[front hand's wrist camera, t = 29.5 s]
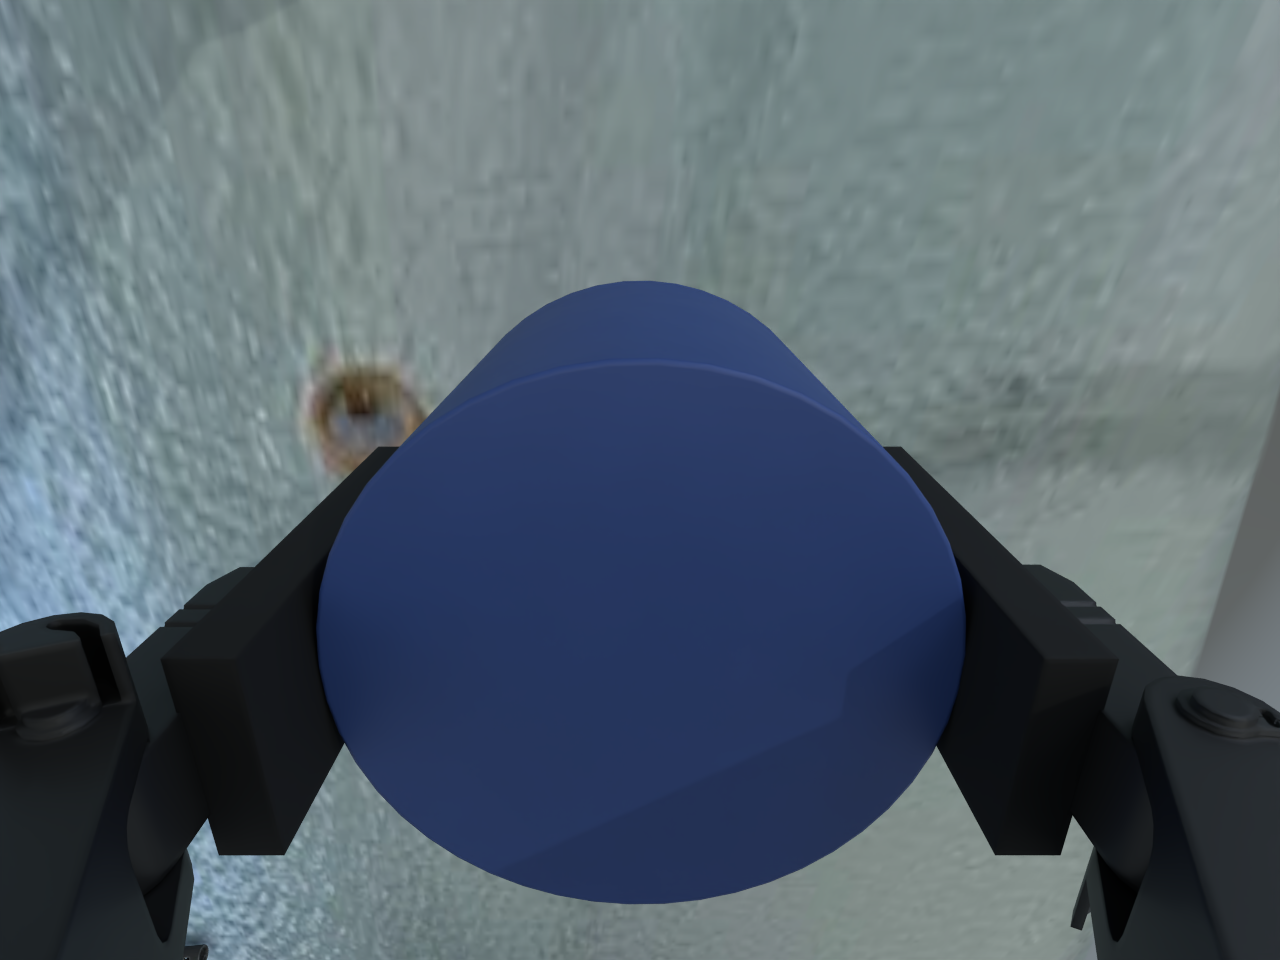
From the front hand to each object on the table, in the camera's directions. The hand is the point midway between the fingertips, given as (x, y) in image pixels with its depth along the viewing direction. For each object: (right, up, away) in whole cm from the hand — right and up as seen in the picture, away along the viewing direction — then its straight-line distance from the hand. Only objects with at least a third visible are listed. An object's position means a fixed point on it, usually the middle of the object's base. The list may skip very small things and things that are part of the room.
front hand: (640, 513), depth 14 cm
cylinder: (0, +1, +2) cm, 2 cm away
